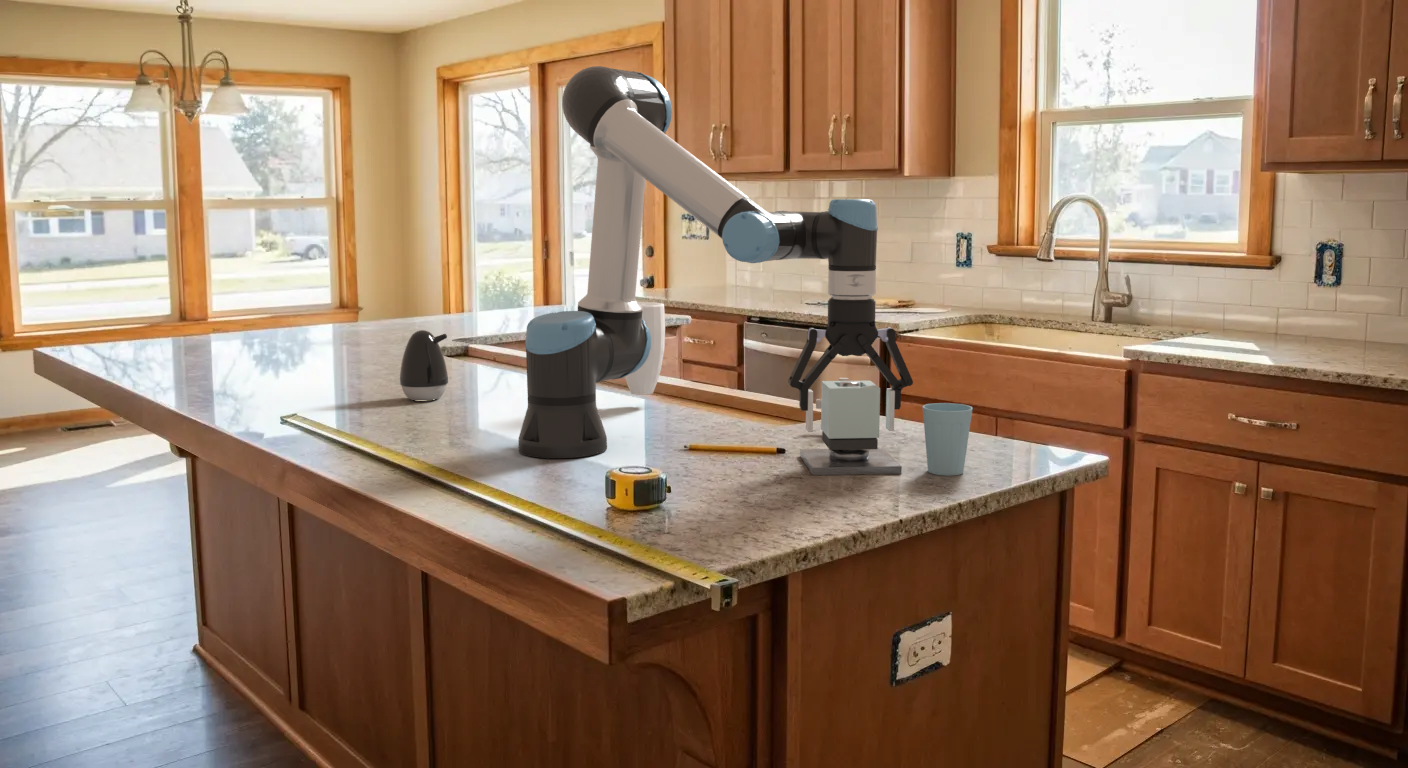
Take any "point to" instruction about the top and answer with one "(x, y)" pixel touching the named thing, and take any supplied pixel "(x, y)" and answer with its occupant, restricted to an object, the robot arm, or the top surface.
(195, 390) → the top surface
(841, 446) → the dark grey square slab
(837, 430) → the sleeve
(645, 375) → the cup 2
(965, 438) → the cup
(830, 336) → the robot arm
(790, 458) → the top surface
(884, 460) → the pipe stand
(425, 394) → the pump dispenser
